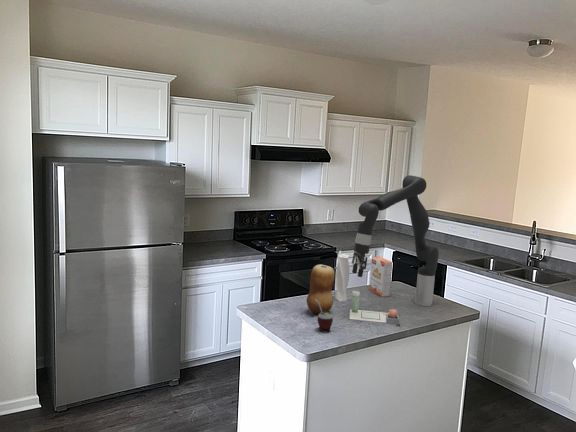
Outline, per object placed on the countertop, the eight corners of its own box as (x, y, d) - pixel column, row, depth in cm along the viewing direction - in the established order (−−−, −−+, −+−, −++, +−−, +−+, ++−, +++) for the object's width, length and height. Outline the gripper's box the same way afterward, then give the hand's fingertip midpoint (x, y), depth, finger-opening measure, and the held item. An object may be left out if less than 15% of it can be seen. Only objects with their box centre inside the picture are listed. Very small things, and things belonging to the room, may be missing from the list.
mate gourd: (335, 330, 222) (337, 299, 220) (324, 334, 216) (326, 303, 214) (322, 325, 227) (324, 295, 224) (312, 329, 221) (313, 298, 219)
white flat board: (349, 310, 250) (349, 303, 250) (397, 314, 246) (397, 308, 246) (348, 320, 234) (348, 314, 234) (399, 326, 231) (400, 319, 230)
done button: (388, 314, 236) (388, 308, 235) (396, 315, 235) (397, 309, 235) (388, 317, 232) (389, 311, 232) (397, 317, 231) (397, 312, 231)
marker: (351, 309, 248) (352, 290, 247) (358, 310, 248) (359, 291, 246) (350, 312, 244) (352, 292, 243) (358, 313, 244) (359, 293, 242)
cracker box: (368, 290, 287) (371, 256, 284) (377, 289, 289) (380, 256, 286) (381, 297, 274) (384, 262, 271) (390, 296, 276) (393, 261, 273)
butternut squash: (330, 319, 235) (333, 270, 232) (303, 316, 238) (306, 267, 234) (333, 310, 249) (336, 263, 245) (308, 307, 251) (311, 261, 248)
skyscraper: (331, 299, 266) (334, 250, 262) (342, 298, 270) (346, 249, 265) (338, 303, 259) (341, 253, 255) (350, 302, 262) (353, 253, 258)
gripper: (374, 246, 229) (368, 279, 230) (364, 241, 243) (359, 272, 244) (360, 244, 228) (354, 277, 229) (351, 239, 241) (345, 270, 243)
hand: (356, 274), depth 236 cm, fingers open, 8 cm apart
